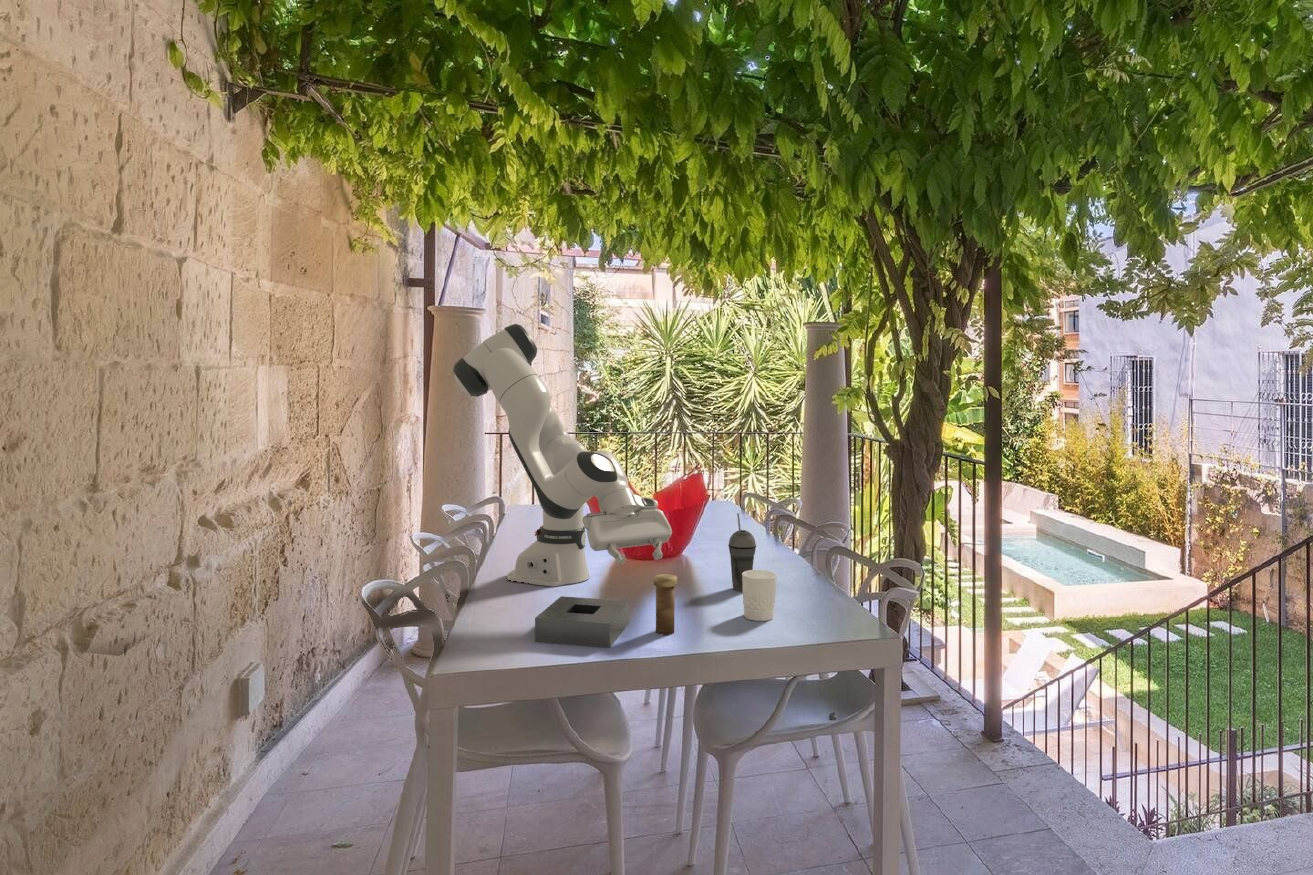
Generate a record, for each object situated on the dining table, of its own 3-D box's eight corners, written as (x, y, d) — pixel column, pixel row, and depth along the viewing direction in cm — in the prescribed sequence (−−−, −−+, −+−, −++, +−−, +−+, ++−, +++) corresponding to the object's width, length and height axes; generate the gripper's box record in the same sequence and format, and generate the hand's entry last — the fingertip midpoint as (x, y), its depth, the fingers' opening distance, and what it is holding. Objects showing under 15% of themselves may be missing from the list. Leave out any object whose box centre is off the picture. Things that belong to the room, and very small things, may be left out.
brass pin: (651, 634, 155) (651, 579, 154) (656, 627, 160) (656, 573, 159) (674, 636, 154) (674, 580, 153) (678, 628, 159) (678, 574, 158)
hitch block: (535, 641, 150) (534, 617, 150) (561, 617, 166) (561, 596, 165) (609, 647, 147) (609, 623, 147) (629, 622, 162) (629, 600, 162)
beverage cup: (754, 593, 186) (755, 516, 184) (726, 592, 187) (727, 515, 186) (756, 586, 193) (757, 511, 192) (729, 584, 194) (730, 510, 193)
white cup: (738, 611, 171) (739, 570, 170) (771, 611, 172) (772, 569, 171) (745, 622, 163) (745, 578, 162) (779, 621, 164) (780, 578, 163)
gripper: (584, 506, 163) (604, 557, 155) (662, 499, 174) (684, 547, 166) (576, 522, 167) (594, 573, 159) (652, 515, 178) (673, 562, 170)
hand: (641, 560), depth 163 cm, fingers open, 8 cm apart
